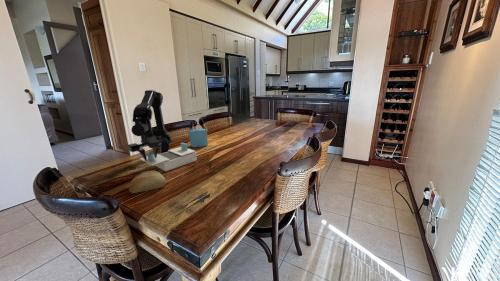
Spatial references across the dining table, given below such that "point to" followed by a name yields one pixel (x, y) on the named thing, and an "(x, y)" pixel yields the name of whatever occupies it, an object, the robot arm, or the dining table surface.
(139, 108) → the robot arm
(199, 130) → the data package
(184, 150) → the far flap
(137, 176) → the bread roll
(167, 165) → the carton
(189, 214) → the dining table surface
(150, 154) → the near flap
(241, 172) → the dining table surface
